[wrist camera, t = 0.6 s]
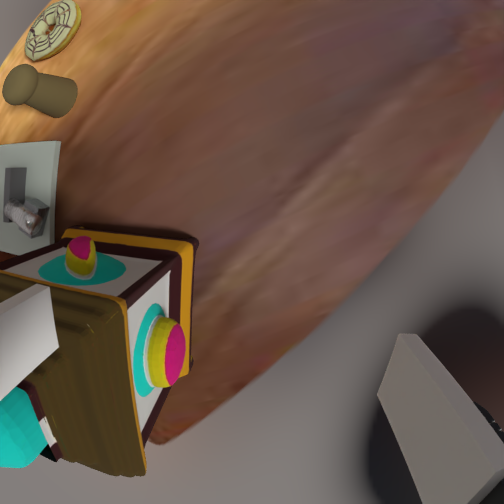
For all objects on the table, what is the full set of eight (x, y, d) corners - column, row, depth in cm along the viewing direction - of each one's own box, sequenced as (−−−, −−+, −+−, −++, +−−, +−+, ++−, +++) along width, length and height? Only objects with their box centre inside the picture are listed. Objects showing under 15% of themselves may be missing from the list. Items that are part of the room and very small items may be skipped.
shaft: (19, 219, 35) (1, 223, 31) (27, 191, 34) (7, 193, 30) (44, 237, 35) (25, 242, 31) (52, 208, 34) (33, 211, 30)
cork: (40, 107, 32) (-10, 95, 22) (62, 72, 31) (15, 51, 21) (60, 125, 33) (8, 114, 22) (84, 88, 32) (35, 67, 21)
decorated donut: (32, 34, 30) (19, 27, 26) (80, -4, 28) (69, -14, 25) (37, 74, 32) (23, 69, 28) (90, 34, 30) (77, 24, 26)
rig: (-15, 147, 34) (-34, 147, 29) (60, 141, 34) (40, 138, 29) (-18, 243, 38) (-36, 248, 33) (54, 260, 37) (35, 269, 33)
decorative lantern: (80, 343, 40) (-43, 467, 11) (71, 213, 36) (-127, 270, 6) (204, 370, 40) (139, 572, 10) (213, 227, 35) (33, 383, 6)
